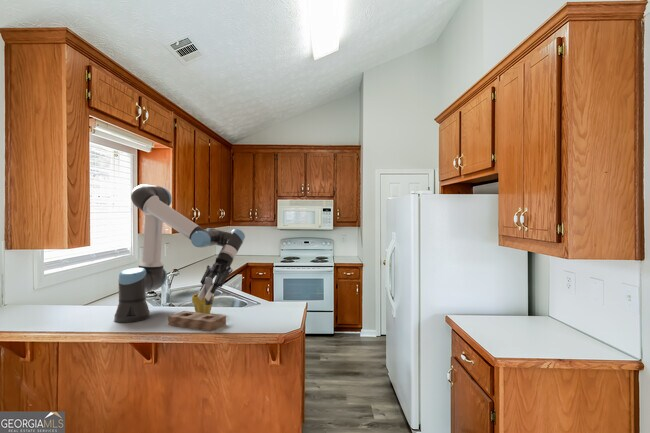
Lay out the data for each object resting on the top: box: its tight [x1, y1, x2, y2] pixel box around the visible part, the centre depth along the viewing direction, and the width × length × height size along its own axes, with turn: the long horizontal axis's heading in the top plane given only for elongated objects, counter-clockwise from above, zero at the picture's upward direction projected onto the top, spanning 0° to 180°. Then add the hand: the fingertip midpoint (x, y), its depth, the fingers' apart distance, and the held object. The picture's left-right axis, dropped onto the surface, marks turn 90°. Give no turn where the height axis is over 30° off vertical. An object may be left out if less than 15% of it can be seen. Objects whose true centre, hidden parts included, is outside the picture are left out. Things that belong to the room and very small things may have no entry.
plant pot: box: [191, 293, 215, 314], centre depth 185 cm, size 10×10×10 cm
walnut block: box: [167, 310, 227, 332], centre depth 168 cm, size 24×10×4 cm, turn 69°
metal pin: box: [205, 277, 214, 306], centre depth 166 cm, size 3×3×12 cm
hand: (203, 298), depth 162 cm, fingers closed on metal pin, 3 cm apart
